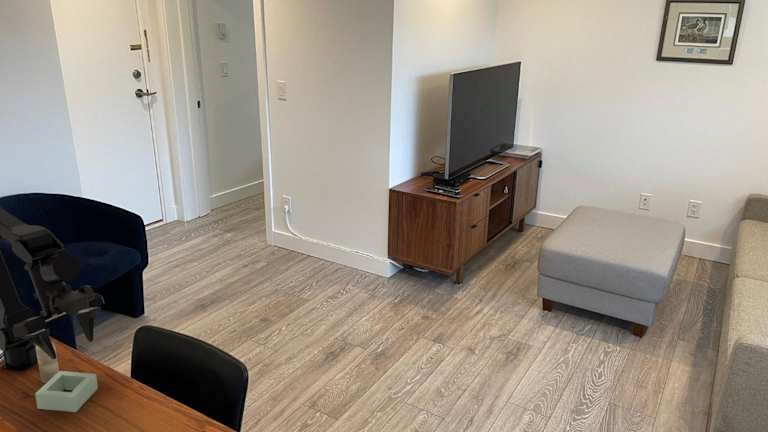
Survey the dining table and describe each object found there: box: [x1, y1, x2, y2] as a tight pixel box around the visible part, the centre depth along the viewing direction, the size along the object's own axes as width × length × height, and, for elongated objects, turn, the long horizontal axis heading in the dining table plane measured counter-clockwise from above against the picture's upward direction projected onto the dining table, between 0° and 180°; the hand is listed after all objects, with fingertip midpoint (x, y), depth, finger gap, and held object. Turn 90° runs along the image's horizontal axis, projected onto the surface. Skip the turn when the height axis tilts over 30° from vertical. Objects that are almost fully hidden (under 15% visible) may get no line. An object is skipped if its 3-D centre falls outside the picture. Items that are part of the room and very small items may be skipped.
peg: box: [35, 341, 60, 384], centre depth 141 cm, size 4×4×9 cm
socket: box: [34, 370, 99, 413], centre depth 134 cm, size 9×9×4 cm
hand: (73, 349), depth 131 cm, fingers open, 9 cm apart
